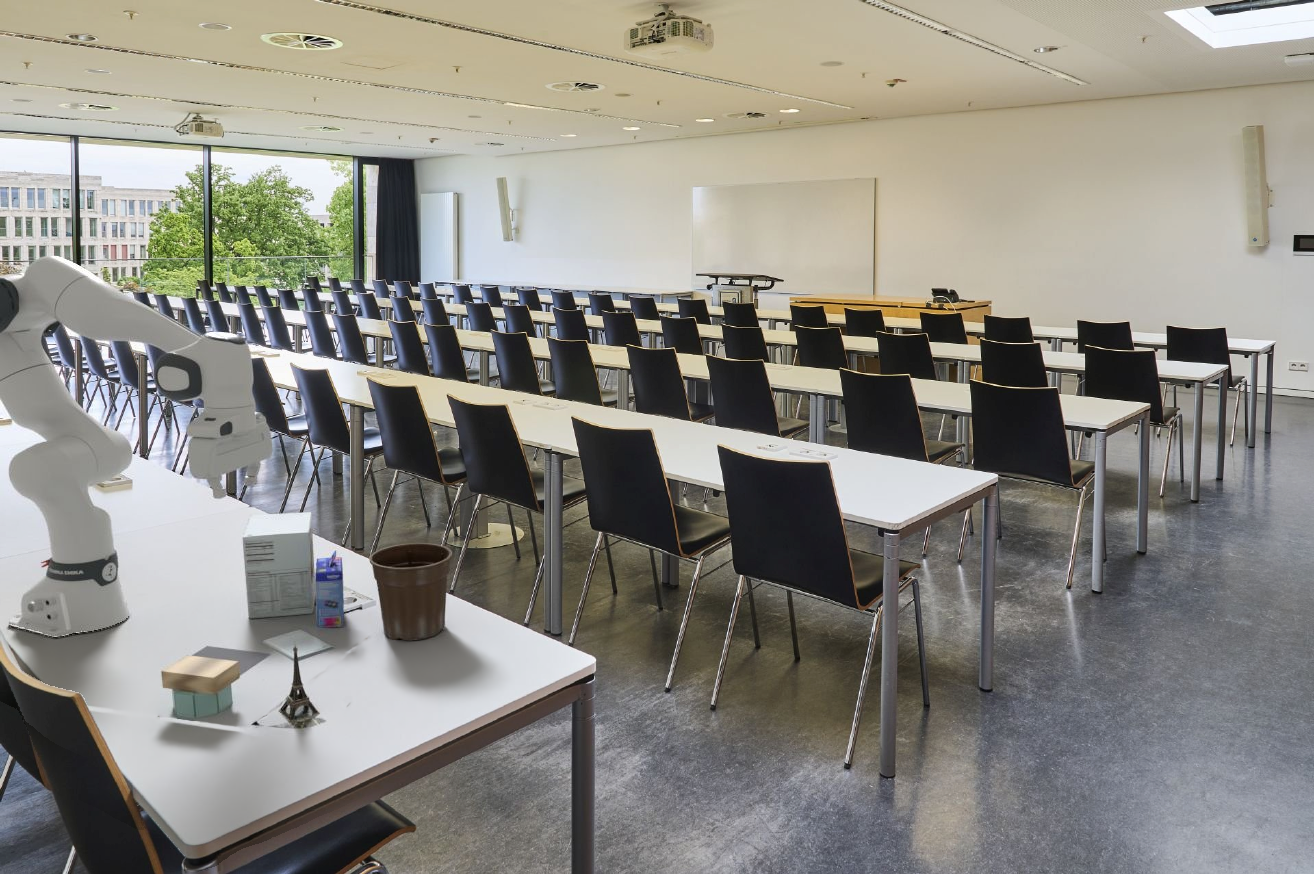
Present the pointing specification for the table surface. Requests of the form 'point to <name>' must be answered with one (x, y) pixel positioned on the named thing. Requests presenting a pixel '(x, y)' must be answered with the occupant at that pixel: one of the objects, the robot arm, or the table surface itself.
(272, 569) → the supplement box
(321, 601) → the ink cartridge box
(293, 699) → the eiffel tower figurine
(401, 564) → the plant pot
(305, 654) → the hard drive
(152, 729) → the table surface
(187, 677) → the lid
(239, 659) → the mat
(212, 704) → the bowl
